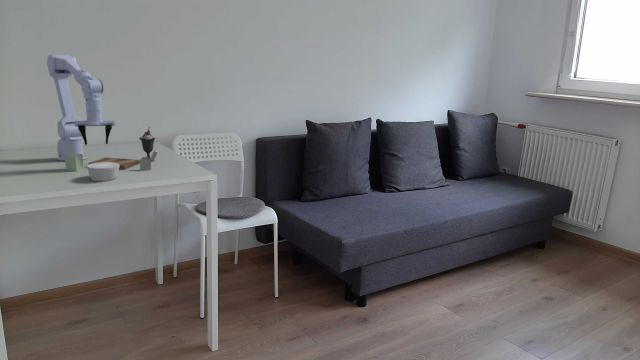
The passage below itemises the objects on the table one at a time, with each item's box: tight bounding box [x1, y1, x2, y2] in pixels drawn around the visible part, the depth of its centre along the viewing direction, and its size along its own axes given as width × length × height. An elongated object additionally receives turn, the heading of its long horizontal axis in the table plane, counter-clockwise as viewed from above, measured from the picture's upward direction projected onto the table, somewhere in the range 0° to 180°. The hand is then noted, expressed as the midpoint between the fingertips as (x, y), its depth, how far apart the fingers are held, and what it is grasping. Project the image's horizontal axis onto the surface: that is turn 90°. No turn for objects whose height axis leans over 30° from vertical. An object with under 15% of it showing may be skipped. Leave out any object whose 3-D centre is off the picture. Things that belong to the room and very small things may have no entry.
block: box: [64, 154, 85, 172], centre depth 199 cm, size 4×4×6 cm
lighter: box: [139, 149, 159, 171], centre depth 204 cm, size 7×2×8 cm, turn 110°
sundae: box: [138, 126, 156, 163], centre depth 219 cm, size 7×7×15 cm
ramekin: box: [86, 162, 120, 182], centre depth 188 cm, size 11×11×5 cm
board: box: [87, 157, 140, 170], centre depth 210 cm, size 16×12×2 cm
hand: (96, 143), depth 203 cm, fingers open, 7 cm apart
